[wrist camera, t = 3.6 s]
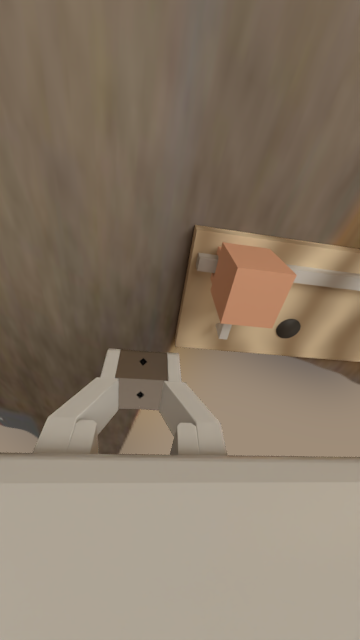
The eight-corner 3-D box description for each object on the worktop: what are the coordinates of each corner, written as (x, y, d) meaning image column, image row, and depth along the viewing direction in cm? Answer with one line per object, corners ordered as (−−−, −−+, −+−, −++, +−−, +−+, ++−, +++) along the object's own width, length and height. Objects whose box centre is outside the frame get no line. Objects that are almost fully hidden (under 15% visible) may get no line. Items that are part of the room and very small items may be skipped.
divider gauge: (462, 264, 25) (568, 305, 18) (383, 356, 32) (438, 409, 26) (195, 224, 21) (207, 258, 15) (174, 338, 29) (177, 394, 22)
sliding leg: (265, 244, 21) (296, 274, 16) (235, 328, 26) (252, 371, 21) (220, 238, 20) (237, 267, 15) (199, 324, 25) (207, 367, 20)
